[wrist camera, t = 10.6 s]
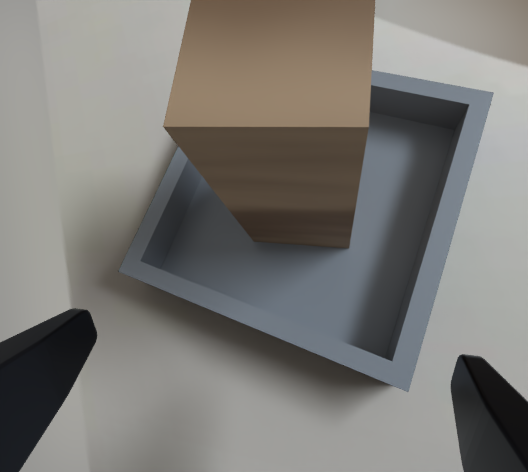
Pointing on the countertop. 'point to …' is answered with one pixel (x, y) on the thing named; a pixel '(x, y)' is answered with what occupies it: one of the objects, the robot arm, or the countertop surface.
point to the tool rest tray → (332, 258)
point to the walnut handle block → (277, 112)
